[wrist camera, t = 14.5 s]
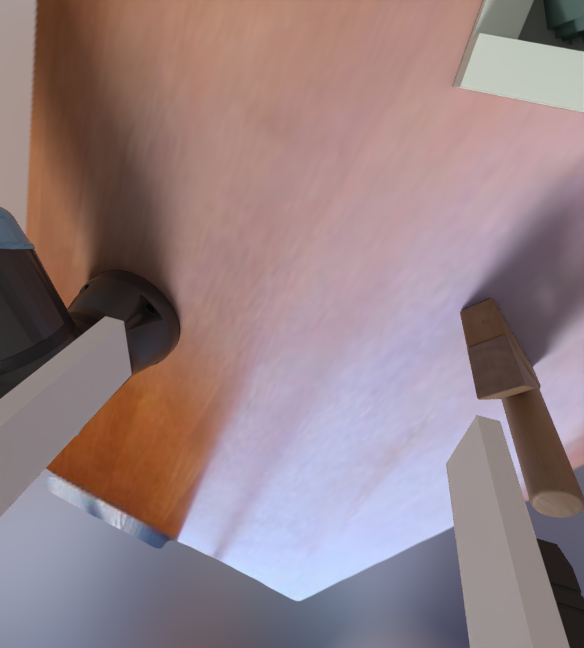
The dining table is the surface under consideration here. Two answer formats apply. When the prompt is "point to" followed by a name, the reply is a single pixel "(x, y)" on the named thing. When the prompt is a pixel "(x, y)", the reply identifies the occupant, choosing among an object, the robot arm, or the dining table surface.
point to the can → (566, 19)
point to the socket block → (522, 57)
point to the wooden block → (521, 409)
